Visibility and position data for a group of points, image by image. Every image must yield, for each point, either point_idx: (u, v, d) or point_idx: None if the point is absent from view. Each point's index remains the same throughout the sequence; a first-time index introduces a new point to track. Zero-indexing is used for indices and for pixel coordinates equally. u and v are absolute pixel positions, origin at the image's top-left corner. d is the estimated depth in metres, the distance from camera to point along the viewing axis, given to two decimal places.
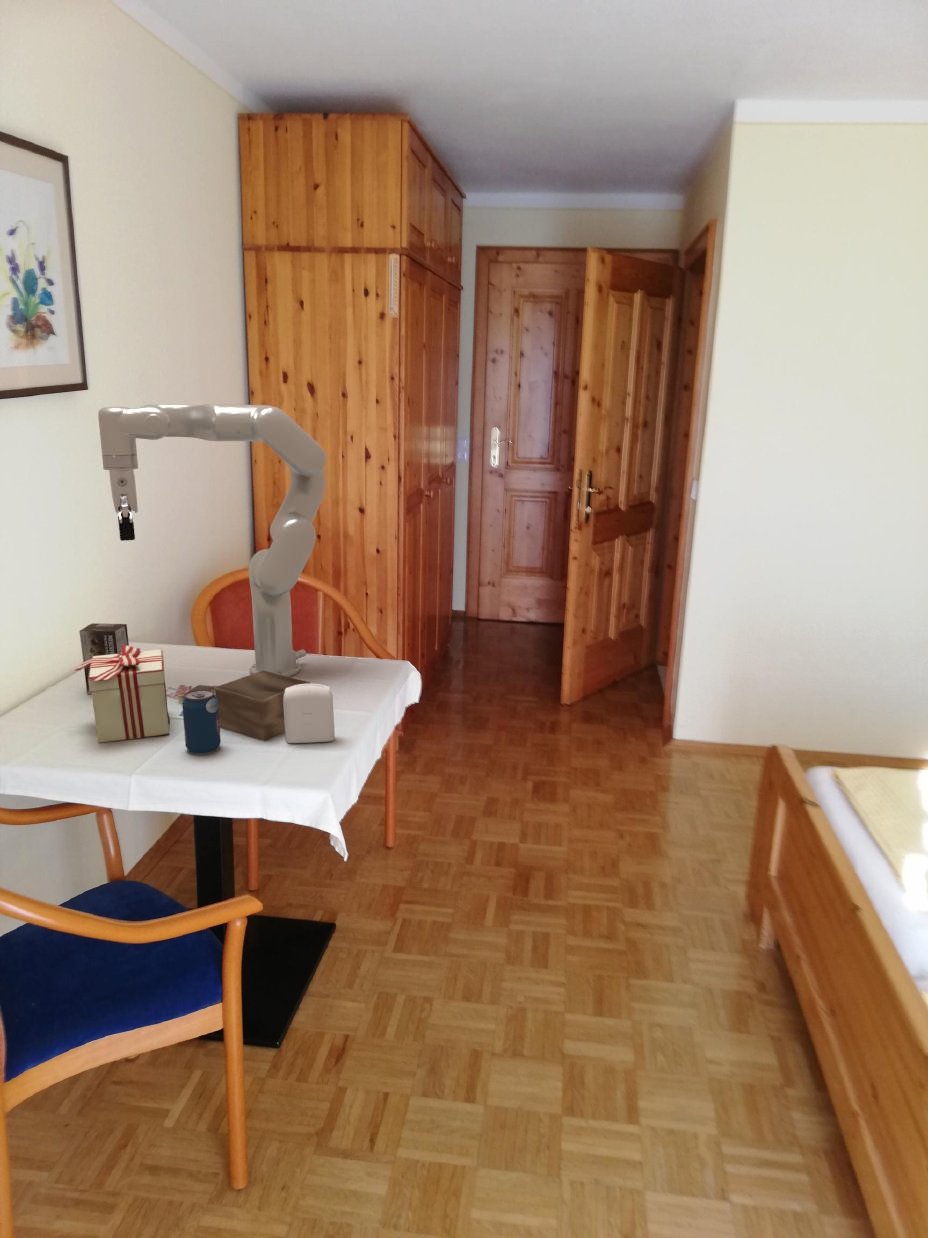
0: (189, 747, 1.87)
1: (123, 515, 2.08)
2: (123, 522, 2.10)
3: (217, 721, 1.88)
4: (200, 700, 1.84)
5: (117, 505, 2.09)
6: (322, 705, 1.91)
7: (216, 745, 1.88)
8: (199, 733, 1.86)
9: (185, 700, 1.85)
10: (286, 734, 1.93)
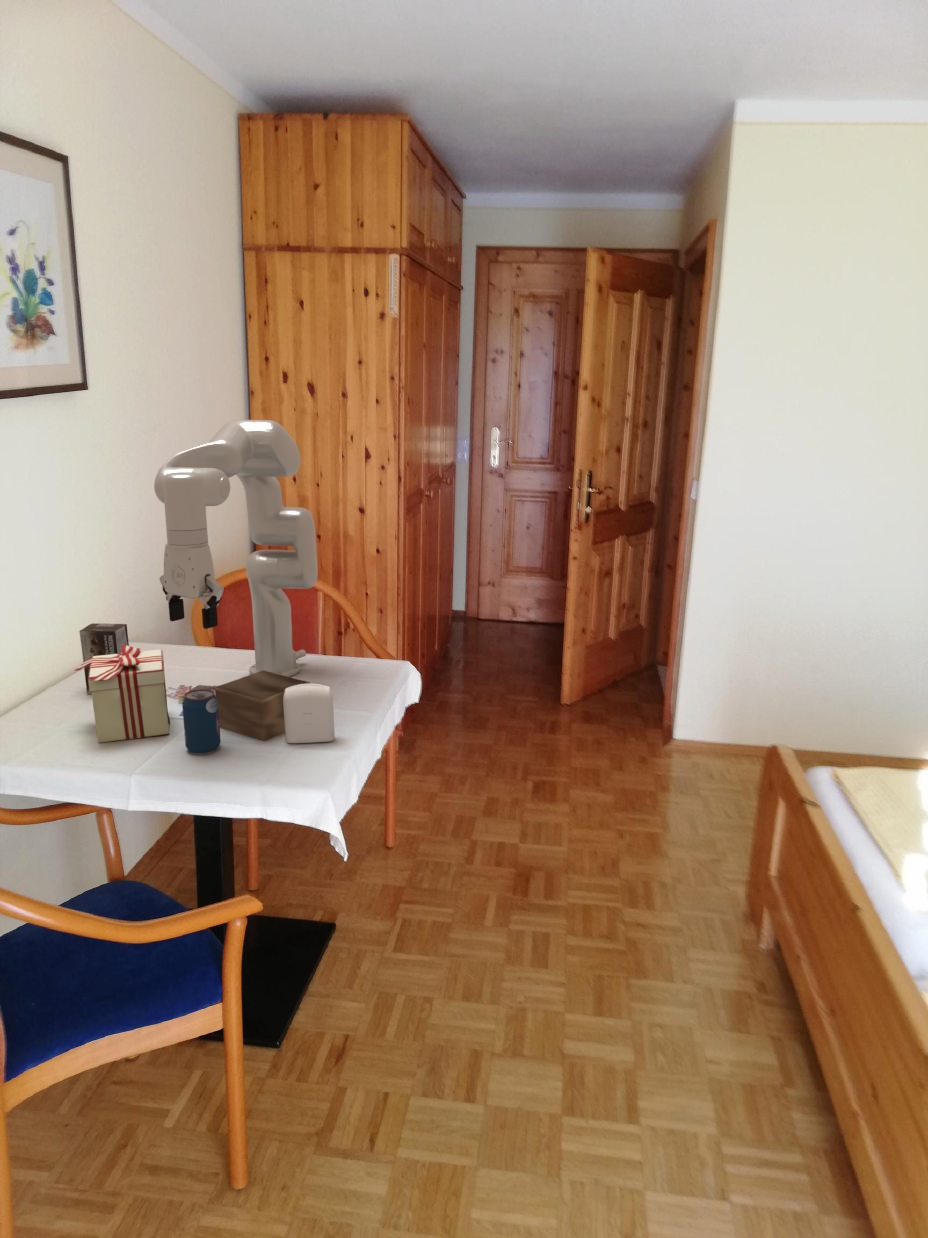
0: (189, 747, 1.87)
1: None
2: None
3: (217, 721, 1.88)
4: (200, 700, 1.84)
5: None
6: (322, 705, 1.91)
7: (216, 745, 1.88)
8: (199, 733, 1.86)
9: (185, 700, 1.85)
10: (286, 734, 1.93)
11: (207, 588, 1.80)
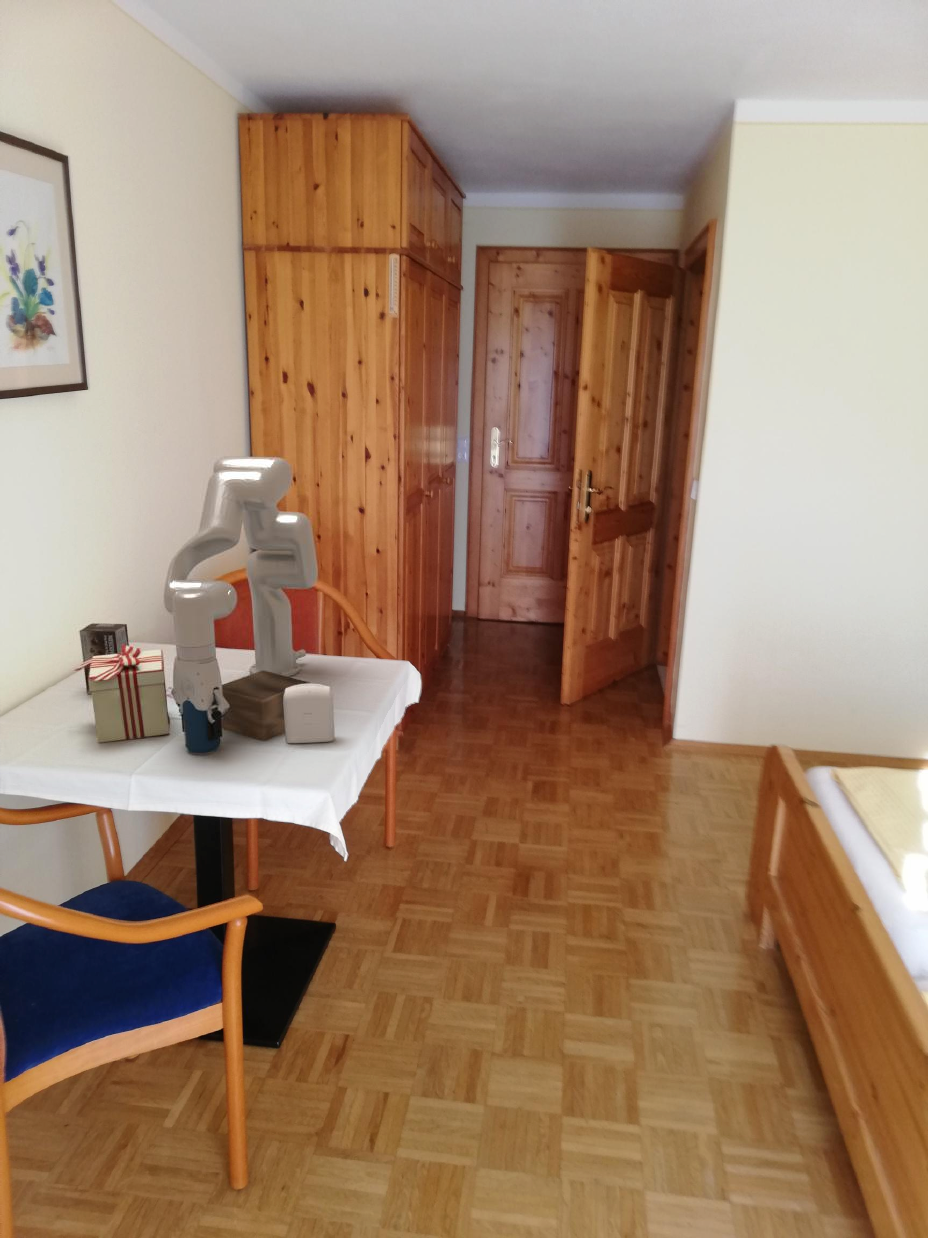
0: (189, 747, 1.87)
1: None
2: None
3: None
4: None
5: None
6: (322, 705, 1.91)
7: (216, 745, 1.88)
8: (199, 733, 1.86)
9: None
10: (286, 734, 1.93)
11: (214, 700, 1.86)
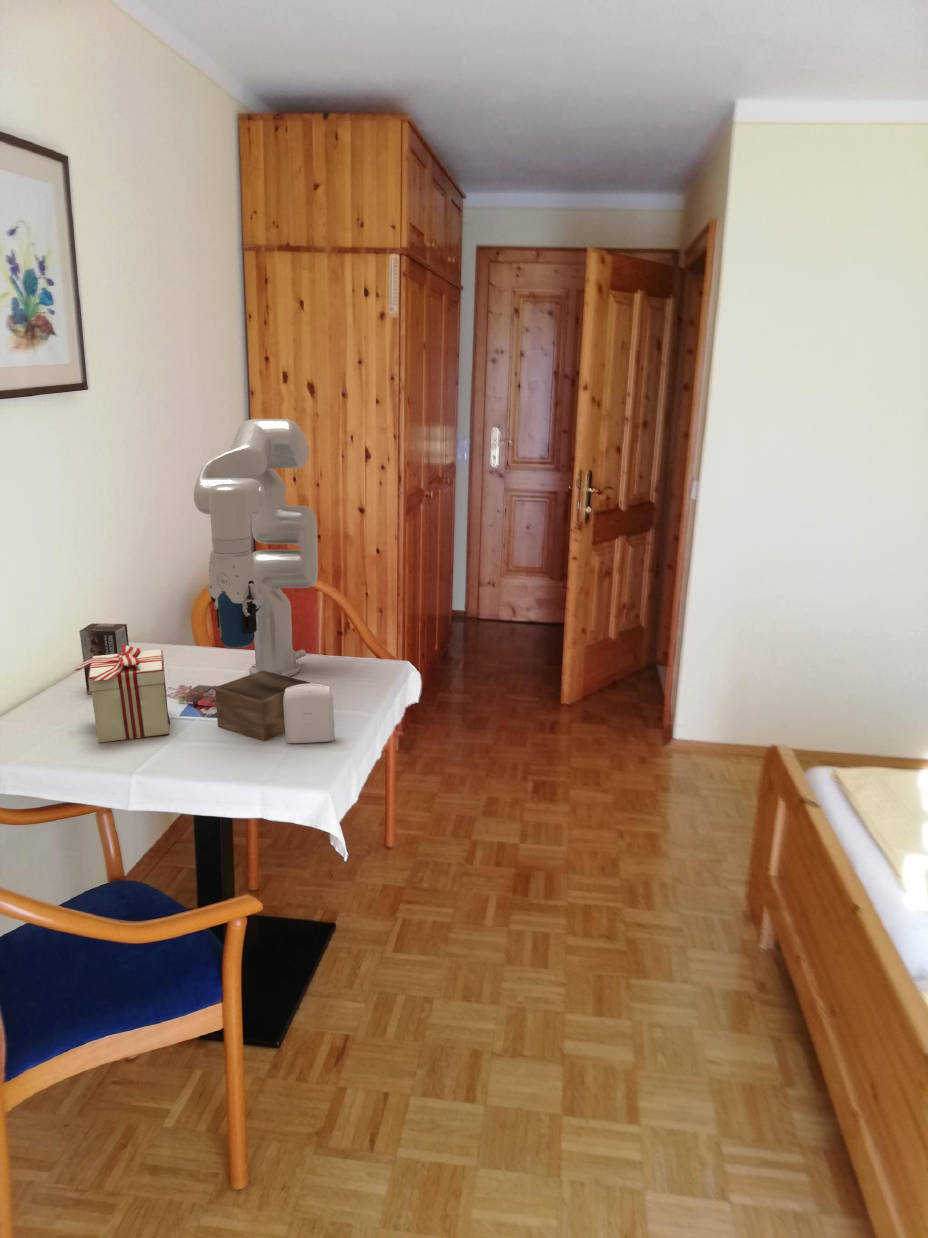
0: (224, 640, 1.91)
1: None
2: None
3: None
4: None
5: None
6: (322, 705, 1.91)
7: (250, 639, 1.92)
8: (234, 626, 1.89)
9: (220, 594, 1.89)
10: (286, 734, 1.93)
11: (249, 595, 1.90)
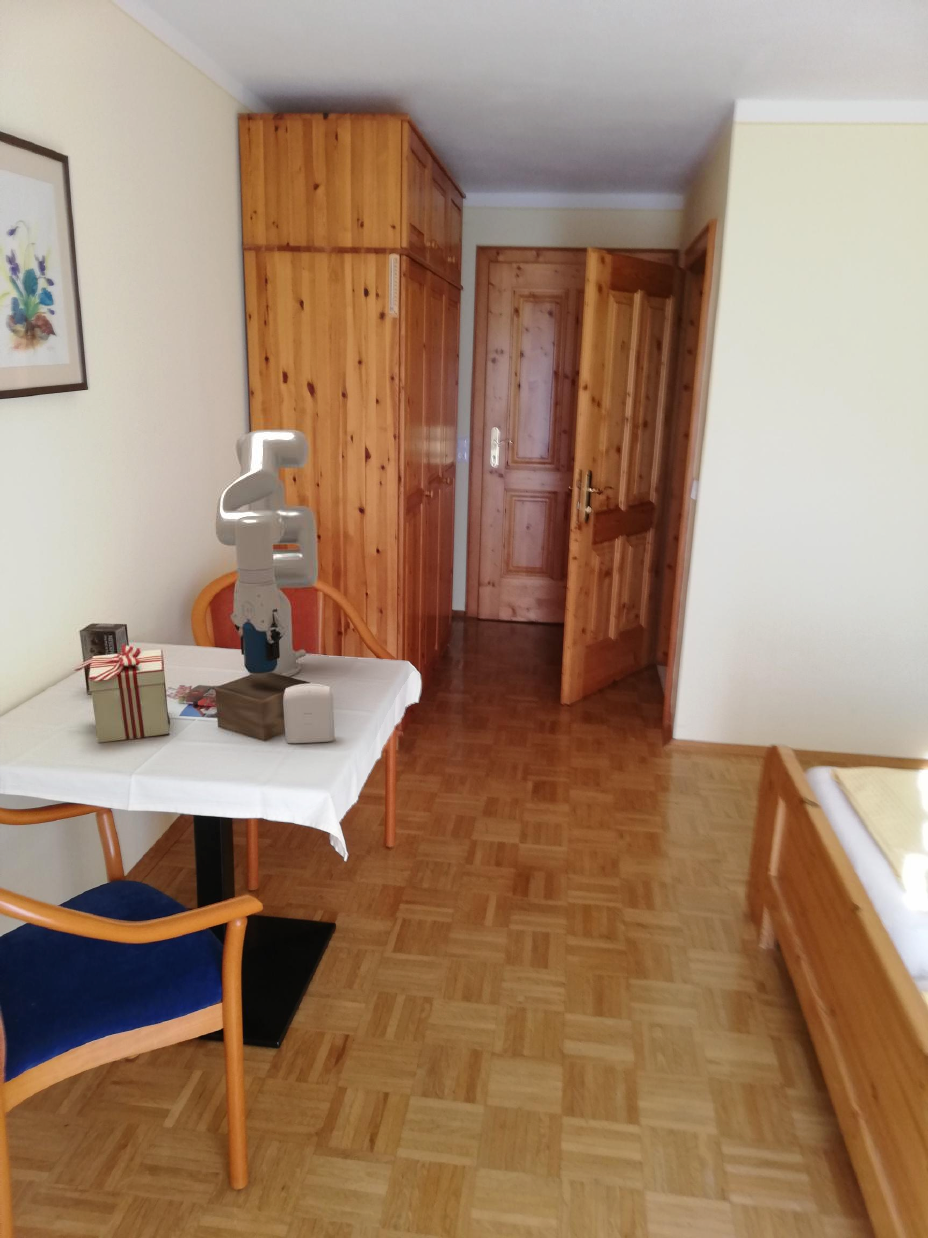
0: (248, 667, 1.97)
1: None
2: None
3: None
4: None
5: None
6: (322, 705, 1.91)
7: (274, 666, 1.99)
8: (259, 653, 1.96)
9: (245, 622, 1.96)
10: (286, 734, 1.93)
11: (272, 623, 1.97)
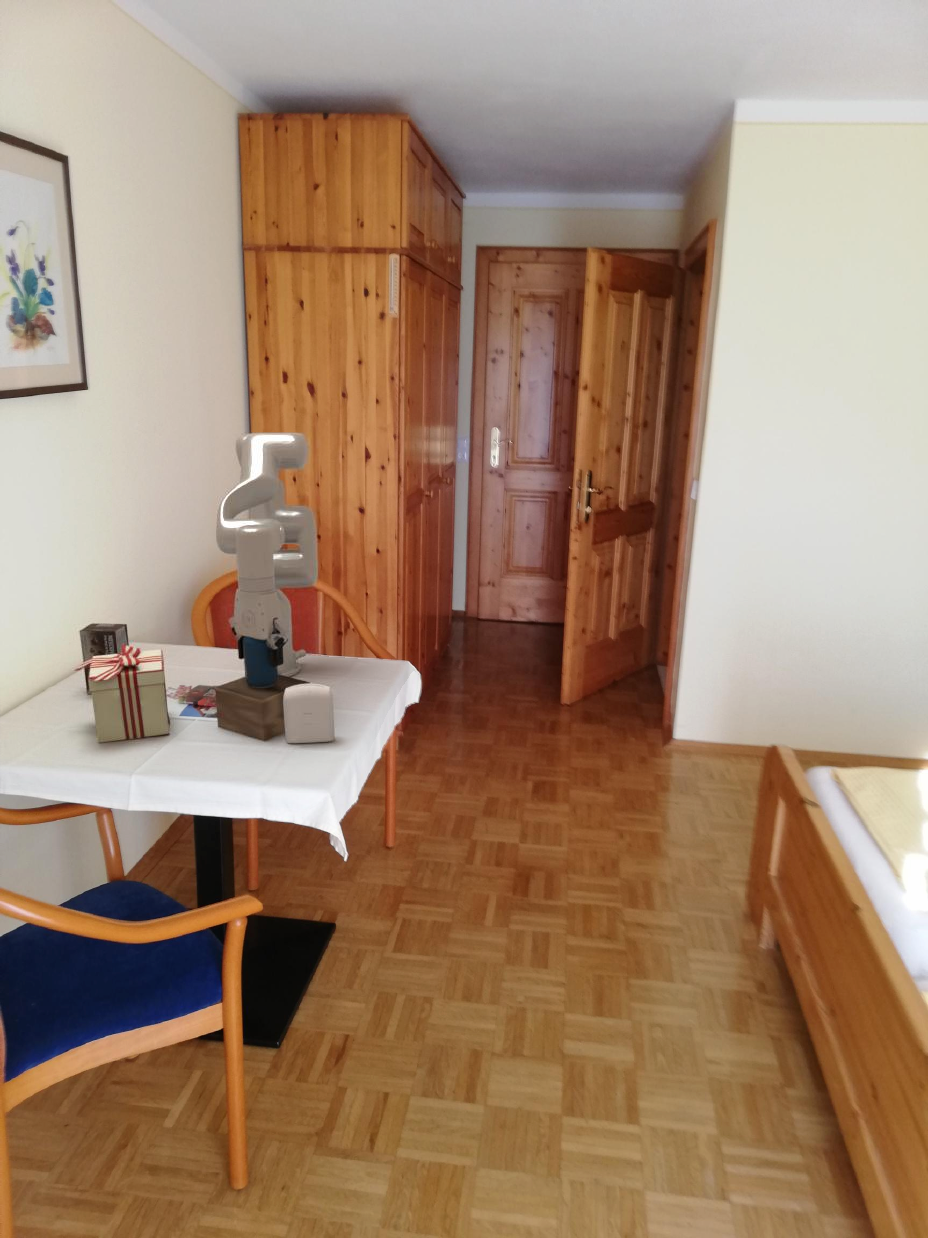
0: (250, 681, 1.98)
1: None
2: None
3: None
4: None
5: None
6: (322, 705, 1.91)
7: (275, 679, 2.00)
8: (260, 667, 1.97)
9: (246, 636, 1.97)
10: (286, 734, 1.93)
11: (274, 630, 1.97)
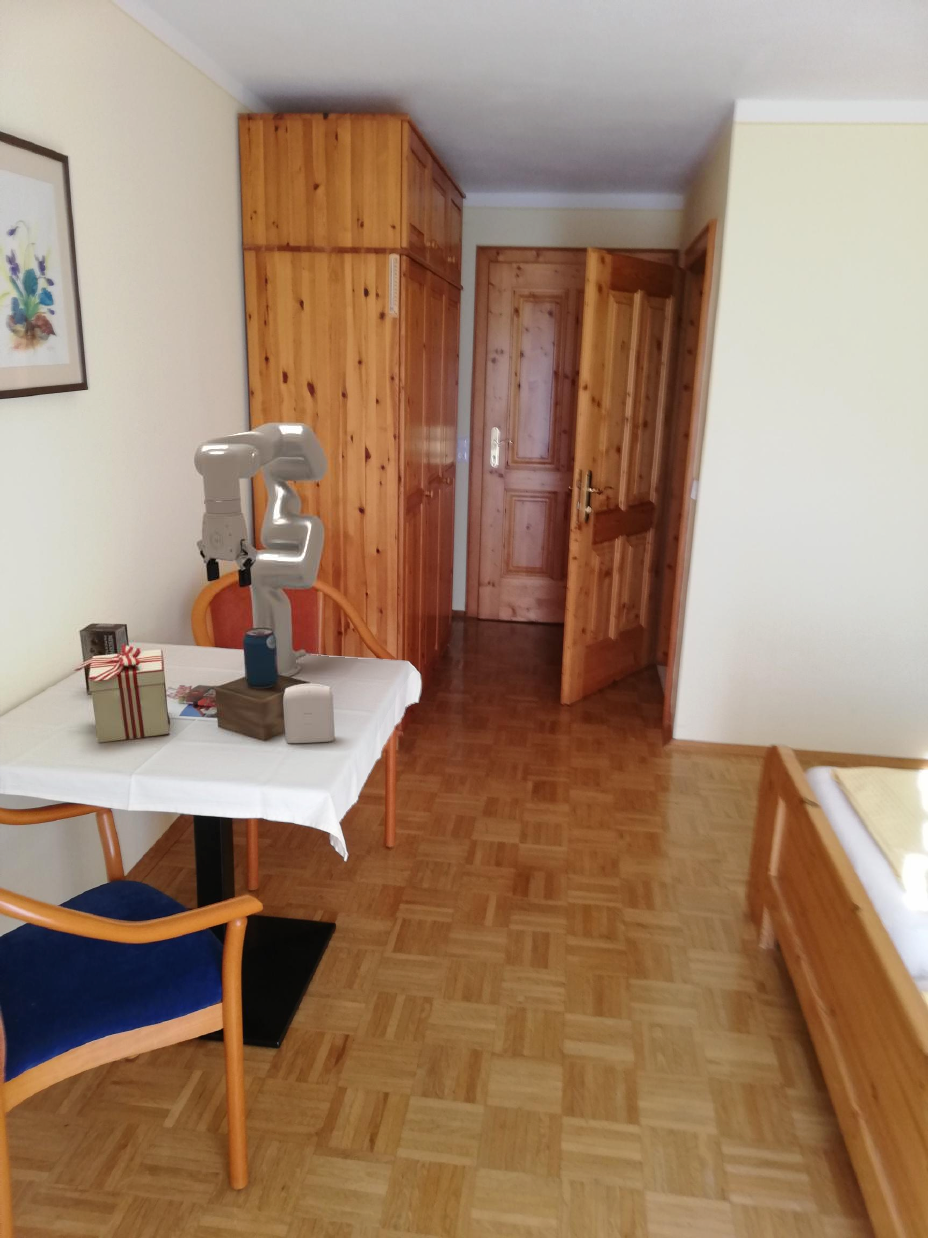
0: (250, 681, 1.98)
1: None
2: None
3: (276, 657, 2.00)
4: (261, 636, 1.96)
5: None
6: (322, 705, 1.91)
7: (275, 680, 2.00)
8: (260, 668, 1.97)
9: (246, 637, 1.97)
10: (286, 734, 1.93)
11: (242, 551, 2.03)
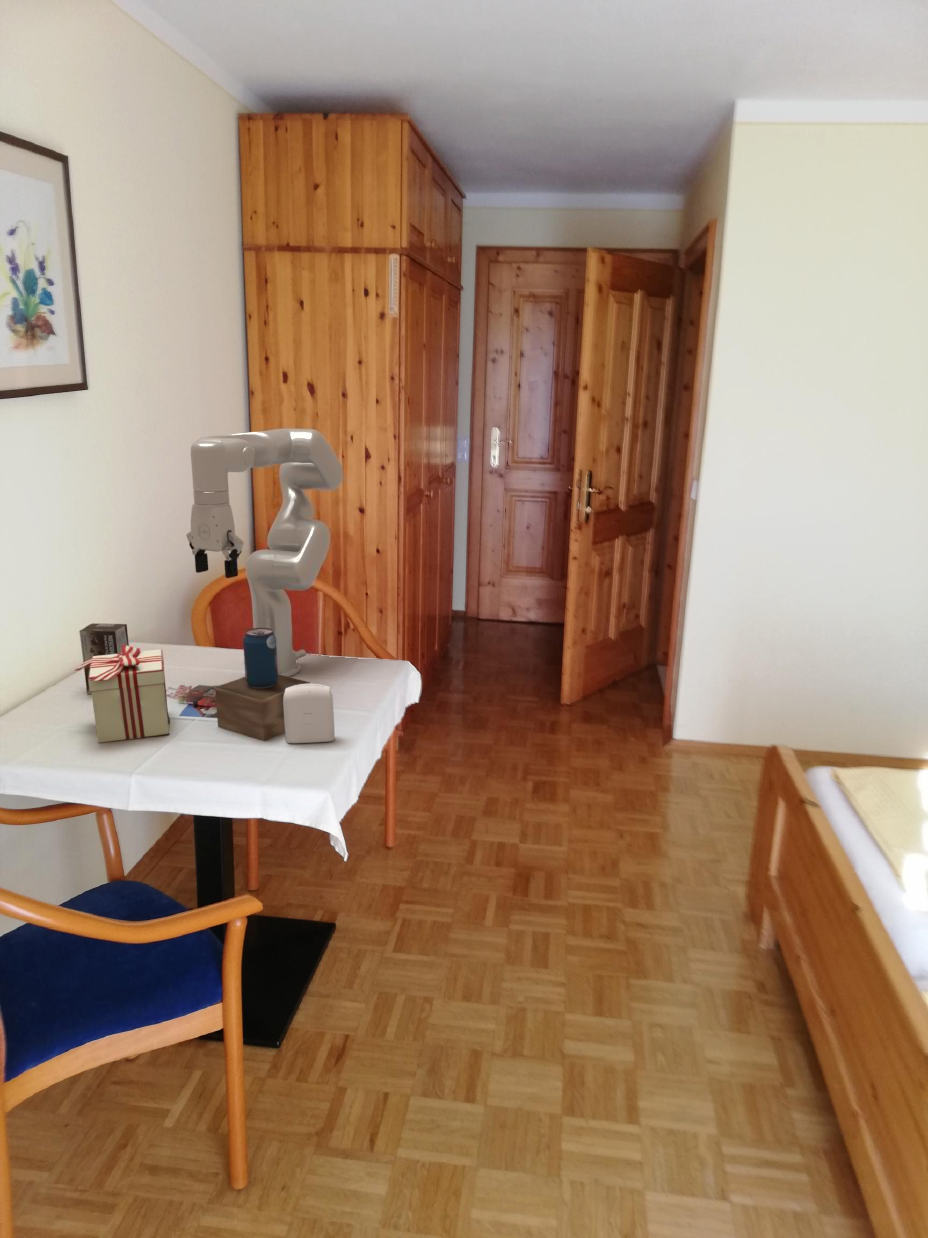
0: (250, 681, 1.98)
1: None
2: None
3: (276, 657, 2.00)
4: (261, 636, 1.96)
5: None
6: (322, 705, 1.91)
7: (275, 680, 2.00)
8: (260, 668, 1.97)
9: (246, 636, 1.97)
10: (286, 734, 1.93)
11: (229, 543, 2.06)
